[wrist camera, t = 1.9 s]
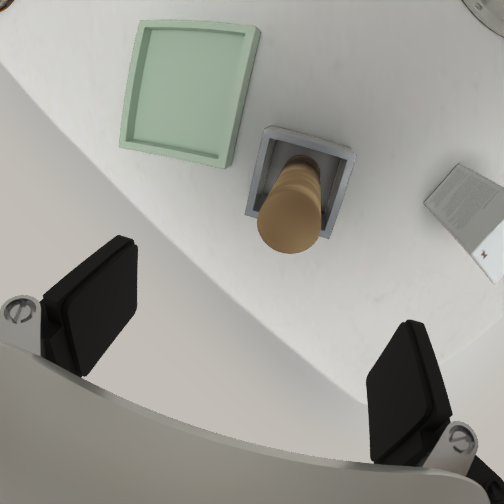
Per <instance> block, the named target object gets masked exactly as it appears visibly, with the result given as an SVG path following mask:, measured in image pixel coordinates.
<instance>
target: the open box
mask: <svg viewBox="0 0 504 504" xmlns="http://www.w3.org/2000/svg"><path fill="white" fill-rule="evenodd" d="M275 139H276V140H280V141H284V142H288V143H291V144H295V145H299V146H302V147H306V148H309V149H313V150H316V151H320V152H323V153H327V154H330V155H333V156H336V157H340V158H341V159H340V162H339V166H338V169H337V172H336V176H335V179H334V182H333V185H332V189H331V192H330V195H329V198H328V202H327V205H326V208H325V211H324V212H321V231H320V234H319V236H320V237H324V238H327V239H329V238H330V235H331V233H332V230H333V227H334V224H335V221H336V218H337V215H338V212H339V209H340V206H341V203H342V200H343V197H344V194H345V191H346V188H347V184H348V181H349V178H350V175H351V172H352V169H353V165H354V162H355V159H356V154H355V153H354V152H353V150H352V149H351V148H350V147H347V146H343V145H340V144H337V143H334V142H331V141H327V140H324V139H320V138H317V137H313V136H310V135H306V134H303V133H299V132H295V131H291V130H288V129H284V128H280V127H276V126H270V127H268V128H265V129H264V131H263V135H262V139H261V144H260V148H259V152H258V157H257V161H256V166H255V170H254V175H253V179H252V183H251V188H250V192H249V197H248V201H247V206H246V210H245V215H247V216H250V217H254V218H258V214H259V211H260V209H261V207H262V206H263V204H264V202H265V200H266V198H267V196H265V195H262V194H263V189H264V185H265V181H266V177H267V173H268V169H269V164H270V160H271V156H272V152H273V148H274V144H275Z"/></svg>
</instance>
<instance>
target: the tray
mask: <svg viewBox="0 0 504 504" xmlns="http://www.w3.org/2000/svg"><path fill="white" fill-rule="evenodd" d="M260 33H261V32H260V31H259V30H258V28H257V27H255V26H248V25H240V24H231V23H221V22H209V21H191V20H140V21H139V26H138V30H137V34H136V38H135V43H134V48H133V53H132V58H131V63H130V68H129V74H128V79H127V85H126V92H125V98H124V105H123V113H122V121H121V129H120V139H119V148H124V149H130V150H135V151H141V152H146V153H151V154H156V155H161V156H166V157H171V158H176V159H180V160H185V161H190V162H194V163H199V164H203V165H207V166H212V167H216V168H220V169H224V170H225V169H226V168H227V167H229V166H230V165H231V163H232V158H233V154H234V149H235V144H236V139H237V134H238V130H239V125H240V120H241V116H242V111H243V106H244V102H245V97H246V93H247V89H248V84H249V80H250V75H251V71H252V67H253V63H254V58H255V54H256V50H257V46H258V42H259V38H260Z"/></svg>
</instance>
